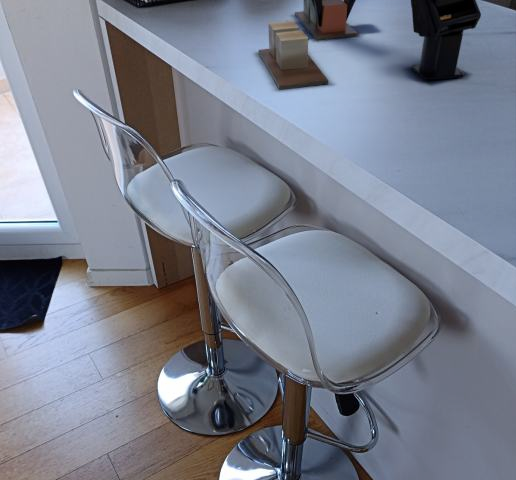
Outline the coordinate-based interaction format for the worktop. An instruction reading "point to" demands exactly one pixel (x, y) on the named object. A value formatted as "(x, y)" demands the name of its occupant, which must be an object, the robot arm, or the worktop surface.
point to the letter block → (333, 16)
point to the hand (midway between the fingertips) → (331, 25)
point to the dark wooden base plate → (311, 24)
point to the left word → (290, 57)
